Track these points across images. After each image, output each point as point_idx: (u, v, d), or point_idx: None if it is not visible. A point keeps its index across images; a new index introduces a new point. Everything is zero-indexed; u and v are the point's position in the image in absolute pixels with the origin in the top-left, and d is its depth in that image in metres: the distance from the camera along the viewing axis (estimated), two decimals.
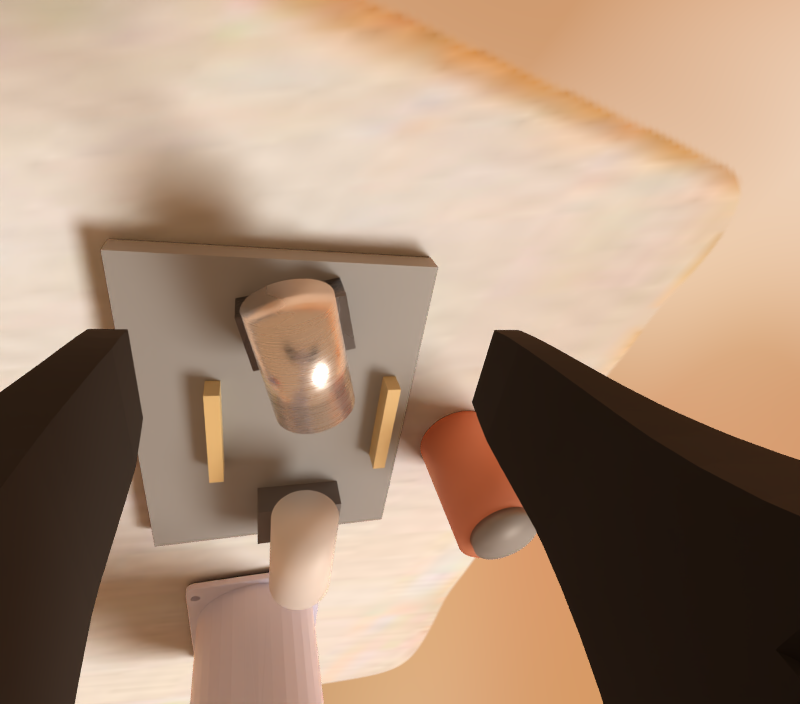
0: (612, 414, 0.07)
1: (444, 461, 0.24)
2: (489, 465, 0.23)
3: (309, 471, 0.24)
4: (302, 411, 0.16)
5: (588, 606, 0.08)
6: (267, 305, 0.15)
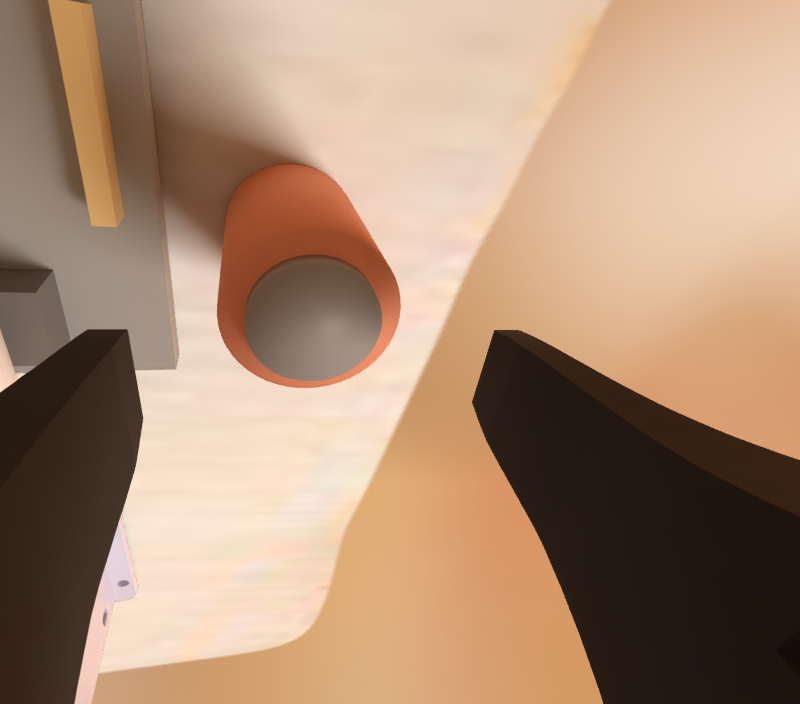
0: (612, 414, 0.07)
1: (231, 219, 0.13)
2: (294, 200, 0.12)
3: None
4: None
5: (588, 606, 0.08)
6: None
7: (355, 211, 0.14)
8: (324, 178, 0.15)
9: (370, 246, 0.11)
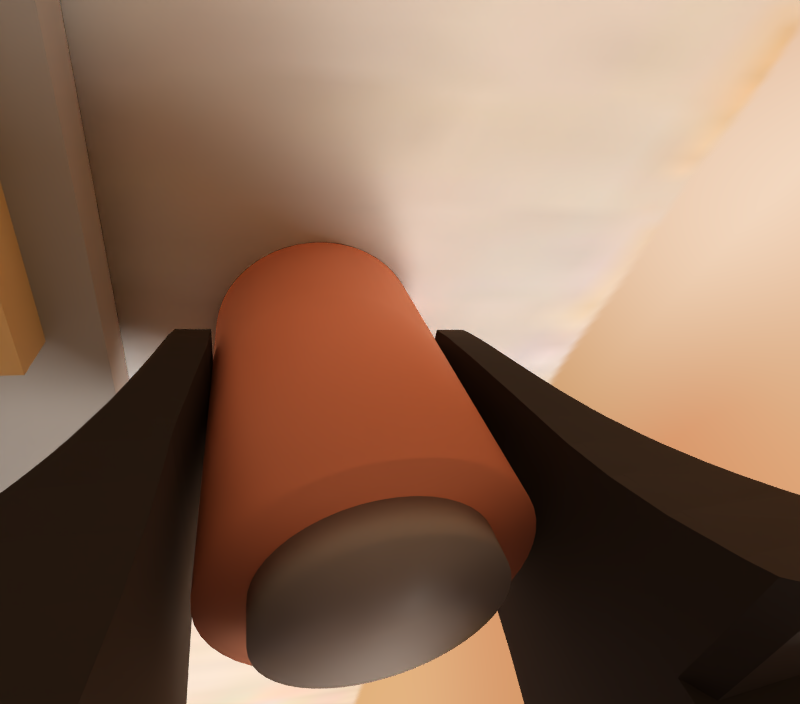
0: (536, 419, 0.07)
1: (224, 358, 0.08)
2: (338, 349, 0.06)
3: None
4: None
5: (517, 621, 0.07)
6: None
7: (427, 329, 0.09)
8: (373, 267, 0.09)
9: (498, 468, 0.05)
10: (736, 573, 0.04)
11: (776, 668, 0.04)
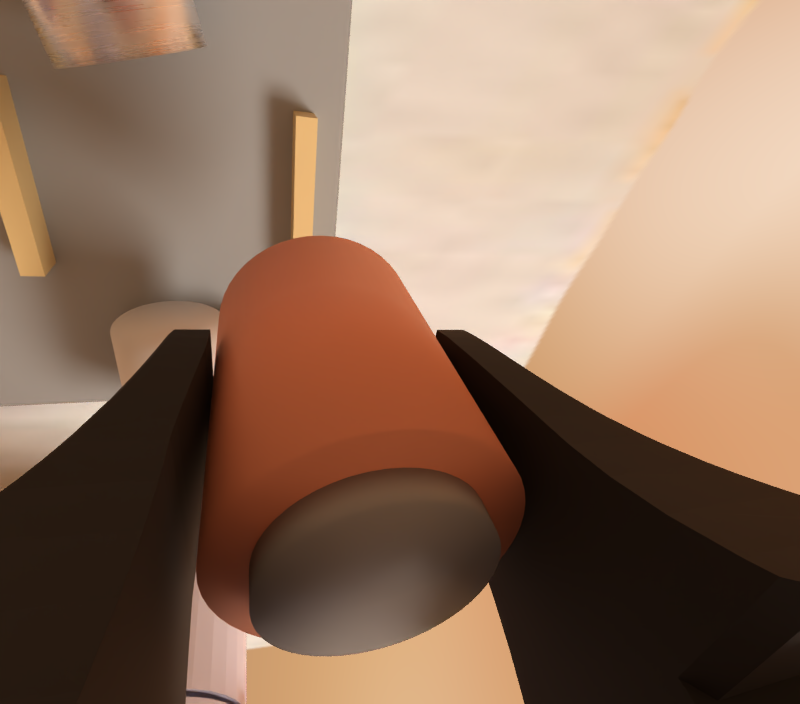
0: (536, 419, 0.07)
1: (224, 348, 0.08)
2: (330, 334, 0.07)
3: (199, 290, 0.16)
4: None
5: (517, 621, 0.07)
6: None
7: (420, 315, 0.09)
8: (366, 258, 0.10)
9: (483, 439, 0.06)
10: (736, 573, 0.04)
11: (776, 668, 0.04)
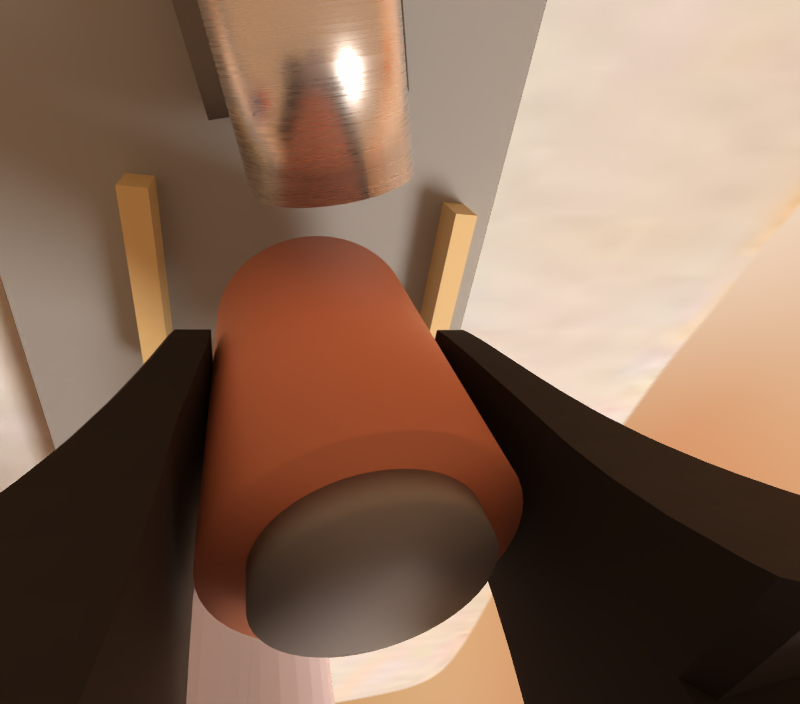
0: (536, 419, 0.07)
1: (221, 351, 0.08)
2: (325, 335, 0.07)
3: None
4: (308, 135, 0.07)
5: (517, 621, 0.07)
6: None
7: (417, 314, 0.09)
8: (363, 257, 0.10)
9: (478, 439, 0.06)
10: (736, 573, 0.04)
11: (776, 668, 0.04)
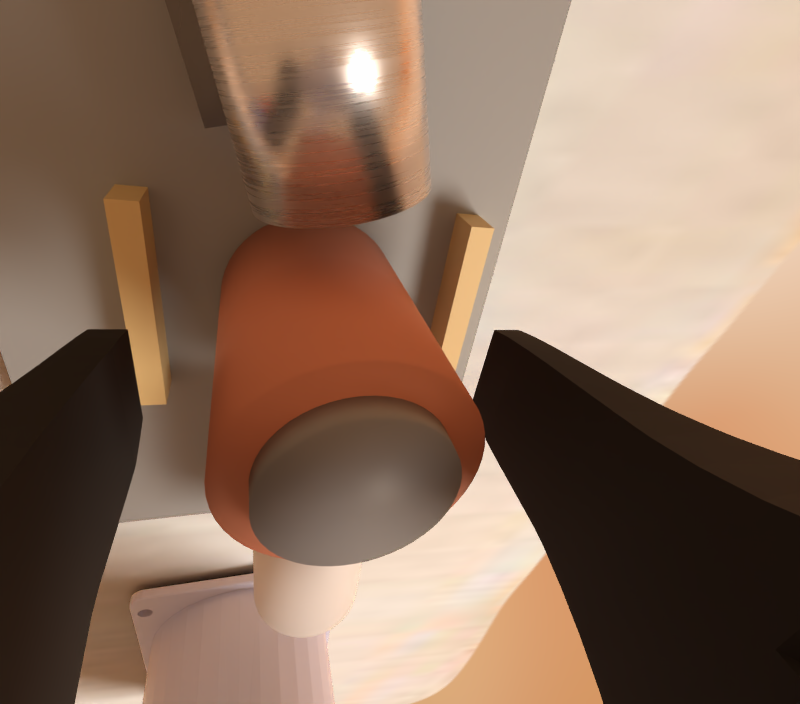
0: (612, 414, 0.07)
1: (225, 312, 0.09)
2: (315, 292, 0.08)
3: None
4: (316, 148, 0.06)
5: (588, 606, 0.08)
6: None
7: (399, 282, 0.10)
8: (352, 234, 0.11)
9: (442, 373, 0.07)
10: None
11: None
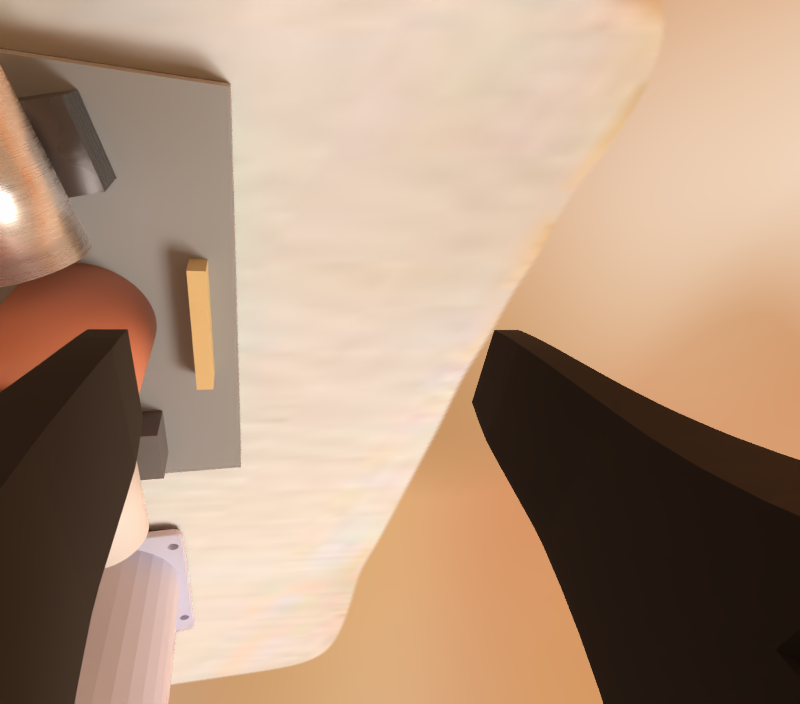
0: (612, 414, 0.07)
1: None
2: (9, 324, 0.12)
3: None
4: None
5: (588, 606, 0.08)
6: None
7: (113, 312, 0.14)
8: (93, 277, 0.15)
9: None
10: None
11: None
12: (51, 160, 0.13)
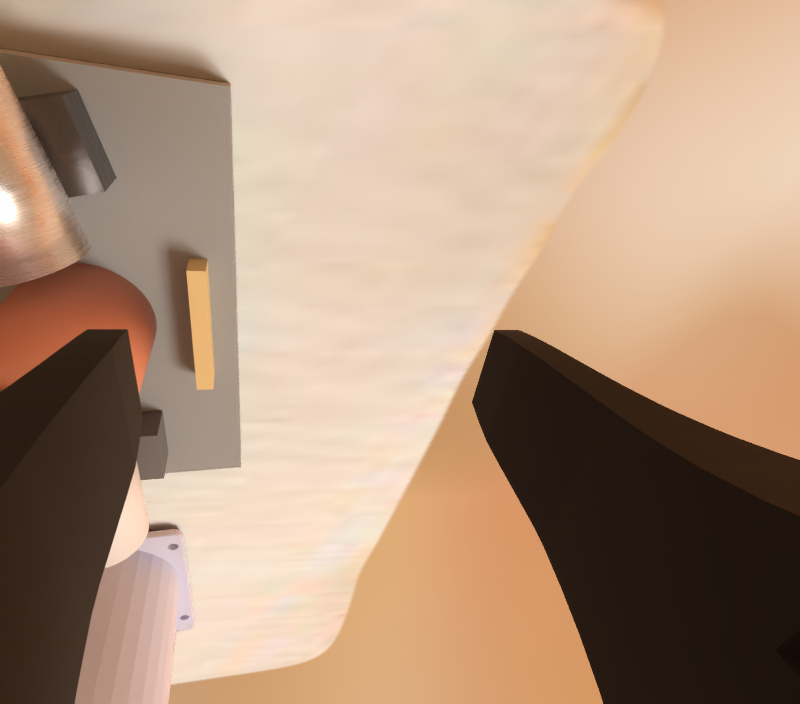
0: (612, 414, 0.07)
1: None
2: (9, 324, 0.12)
3: None
4: None
5: (588, 606, 0.08)
6: None
7: (113, 312, 0.14)
8: (93, 277, 0.15)
9: None
10: None
11: None
12: (51, 160, 0.13)
